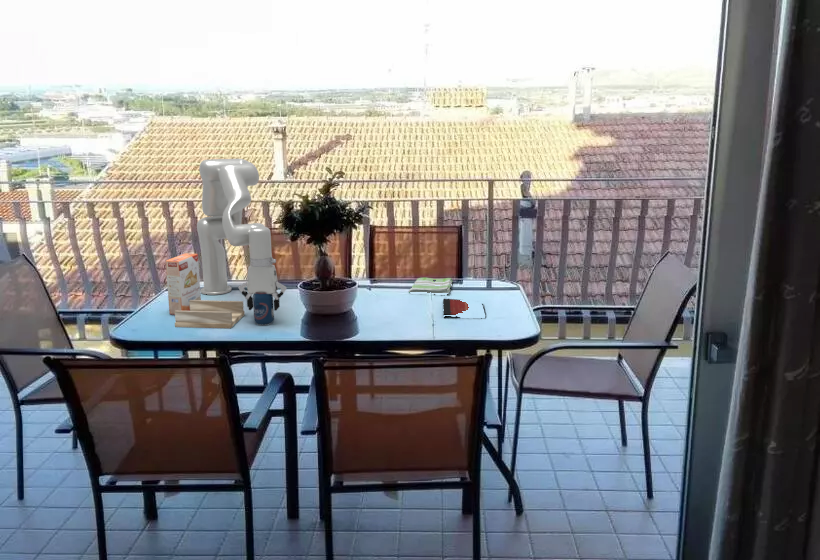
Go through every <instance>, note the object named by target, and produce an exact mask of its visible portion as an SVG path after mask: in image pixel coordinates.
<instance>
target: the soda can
mask: <svg viewBox="0 0 820 560" xmlns="http://www.w3.org/2000/svg"><path fill="white" fill-rule="evenodd" d="M252 298H253V320H254V322H255V324H256V325H257V324H258V326H268V324H269V325H272V324H273V323H274V320H275V314H274V313H275V312H274V311H275V310H274V297H273V296H272V294H266V293H256V292H255V294H252Z"/></svg>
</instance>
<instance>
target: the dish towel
mask: <svg viewBox="0 0 820 560" xmlns="http://www.w3.org/2000/svg"><path fill="white" fill-rule="evenodd" d="M433 280H436V281H435V282H434V281H433ZM452 282H453V283H454V280H453V278H452V277H447V278H432V277H418V278H417V279H416V280H415V281H414V283H415V284H414V283H413V284H412V286H411V287H412V288H411V287H410V289H409V290H408V293H409V292H427V293H430V292H431V293H449V292H450V291H451V289H450V287H451V288H452V286H451V284H452ZM435 285H440V286H435ZM452 285H453V284H452ZM449 294H450V293H449Z"/></svg>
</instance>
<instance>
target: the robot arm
mask: <svg viewBox="0 0 820 560" xmlns="http://www.w3.org/2000/svg"><path fill="white" fill-rule="evenodd" d="M198 171H199V175H200V179H201V181H202V195H201V196H202V197H201V199H202V200H201V210H202V213H203V214H204V215H205V216H206V217H203V218H200V219H199V220H198V221H197V223H196V231H197V235H198V238H199V244H200V254H201V266H202V267H201V268H202V278H203V279H202V280H203V287H202V288H201V287H200V294H202V295H206V294H207V296H208V295H211V296H217V295H223V294H227V293H230V292H231V291H232V287H231V286H230V285H228V281H229V278H228V276H227V272H228V271H227V260H226V259H227V258H226V250H225V247H224V246H223V245H222V244H221V243H220V241H219V240H222V239H223V240H224V239H227V242H228V243H229V245H231V247H242V246H243V247H244V246H248V247H249V248H248V249H249V252H248V253H249V264H248V267H247V268H248V269H247V275H246V276H247V279H246V282H244V283H243V284H241V285H239V286H238V289H239V291H240V293H241V295H243V296H244V298H245V299H246V303H247V304H246V305H247V308H248V310H249V311H251V310H252V309H254V306H253V295H254V294H255V292H256V293H266V294H272V296H273V309H274V311H275V312H276V311H277V310H279V308H280V307H281V306H280V305H281V304H280V298H281V297H282V296H284V294H285V292H286V290H287V286H286V285H283V284H282V283H281V282H278V276H277V274H278V273H277V269H276V267H275V264H276V263H277V259H276V258H273V256H272V255H273V254H272V236H271V235H272V234H271V233H272V232H271V230H270V228H269V227H267V226H265V224H263V223H261V222H255V223H244V224H243V223H242V220H243V219H242V218H243V209H245V208H246V207H248V206H249V205H250V203H251V201H252V197H251V193H250V191H249V188H248V187H250V186H251V187H252V186H256V185H258V183H259V180H260V174H259V171H258V168H257V167H256V165H254V164H253V163H252V162H250V161H248V160H247V159H244V158H220V159H219V158H216V159H215V158H213V159H203V160H202V161H201V162H200V163H199V170H198ZM245 288H247V290H246V289H245ZM279 289H280V292H278V290H279Z"/></svg>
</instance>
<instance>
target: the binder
mask: <svg viewBox="0 0 820 560" xmlns="http://www.w3.org/2000/svg"><path fill="white" fill-rule="evenodd" d="M460 300H461V299H454V298H453V299H452V298H443V300H442V305H443V304H444V305H443V306H442V307H443V308H442V310H443V309H444V311H442V312H443V313H442V315H456V314H458V313H463V312H462V311H466V310H468V308H469V307H468V304H467V303H466V302H462V301H460Z"/></svg>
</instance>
